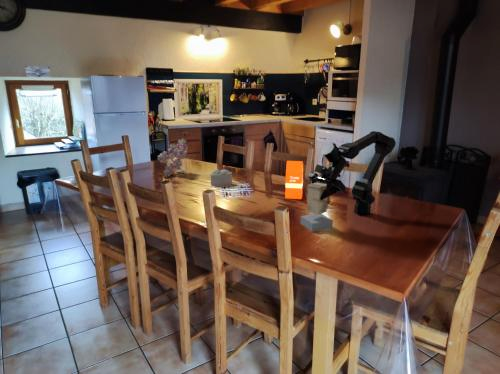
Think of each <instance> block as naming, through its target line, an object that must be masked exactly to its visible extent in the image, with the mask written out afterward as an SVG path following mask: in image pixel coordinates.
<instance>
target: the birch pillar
mask: <svg viewBox="0 0 500 374" xmlns="http://www.w3.org/2000/svg"><path fill="white" fill-rule="evenodd" d="M307 187H308V193H307V197H306V212H307V213H309V214H310V213H311V214H317V215H319V214H324V213H326V212H327V210H328V209H327V208H328V197H327V198H325V199H323V200H320V197H321V196H322V194H323V192H324V191H325V189H326V188H327V184H325V183H322V182H321V183H317V182H316V183H312V182H311V183H310V184H307Z"/></svg>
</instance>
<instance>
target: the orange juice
mask: <svg viewBox="0 0 500 374" xmlns="http://www.w3.org/2000/svg"><path fill="white" fill-rule="evenodd" d="M303 181H304V162H303V161H302V160H301V161H300V160H286V169H285V187H284V188H285V193H284V196H285V197H284V199H291V200H292V199H293V200H296V199H297V200H302V198H303V183H304V182H303Z"/></svg>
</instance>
